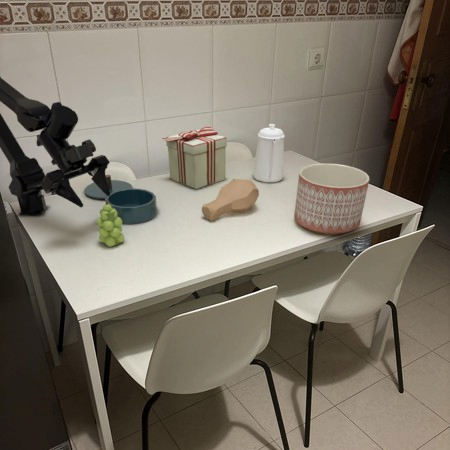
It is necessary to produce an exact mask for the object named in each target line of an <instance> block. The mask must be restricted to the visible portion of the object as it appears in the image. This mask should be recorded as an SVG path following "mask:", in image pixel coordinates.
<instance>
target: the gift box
mask: <svg viewBox="0 0 450 450" xmlns="http://www.w3.org/2000/svg"><path fill="white" fill-rule="evenodd" d="M227 139H228V138H227V137H226V136H223V135H220V134H218V131H216V130H215V129H214V128H213V127H211V126H204V127H202V128H200V129H193V130H187V131H182V132H180V133H177V134H173V135H169V136H166V137H162V140H164V141H166V142H165V143H166V144H165V145H166V147H167V152H168V167H169V168H168V169H169V179H170V180H172V181H175V182H177V183H179V184H182V185H184V186H187V187H189V188H191V189H194V190H198V189H200V188H201V189H202V188H204V187H207V186H210V185H213V184H216V183H219V182H222V181H224V180H225V181H226V147H228V140H227Z"/></svg>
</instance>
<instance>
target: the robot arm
mask: <svg viewBox="0 0 450 450" xmlns="http://www.w3.org/2000/svg"><path fill="white" fill-rule="evenodd" d="M0 103H2V104H3V105H4V106H6V108H8V109H9V110H11V111H12V112H13V113H14V114H15V115H16V120H17V122H18V123H19V124H20V126H22V128H24V129H25V131H26V132H29V133H33V132H37V131H40V132H39V134H37V135H36V146H37V147H43V148H44V150H45V151H46V152H47V153H48V155H49V156H50V158H51V159H52V160H51V162H50V163H51V164H52V166H57V167H58V168H57V169H55V170H51V171H49V172H47V173H46V174H45V171H44V169H43V168H42V167H41V165H40V163H39V162H38V159H37V158H35V157H29V156H27V155H26V153H25V152H24V150H23V148H22V147H21V145H20V144H19V142H18V140H17V138H16V137H15V134H14V133H13V131H12V130H11V129H10V127H9V125H8V124H7V122H6V120H5V118H4V117H3V115H2V113H1V112H0V150H1V152H2V153H3V155H4V156H5V158H6V160H7V161H8V163H9V176H10V178H11V182H10V183H9V185H8V190H9V192H10V194H11V195H13V196H15V197H16V198H17V202H18V206H19V210H20V211H19V213H18V215H19V216H41V215H43V213H44V212H45V210H46V209H47V208H48V206H47V203H46V199H45V195H44V194H43V193H42V191H44V193H45V194H51V195H52V196H53V195H57V196H58V197H61V198H63V199H65V200H67V201H69V202H70V203H72V204H74V205H75V206H78V208H83V207H84V202H82V200H81V199H80V197H79V196H78V194H77V193H76V191H75V190H74V189H73V187H72V186H71V182H70V180H71V179H74V178H77V177H80V176H83V175H85V174H88V175H89V176H90V177H91V178H90V179H91V181H92V183H95V184H96V185H97V186H98V187H99V188H100V189H101V190H102V191H103V192H104V193H105V194H106V195H107V196H109V195H110V191H109V187H108V184H107V180H106V176H105V175H106V170H107V169H108V166H109V164H110V160H109V159H108V157H107V156H106V155H104V154H100V155H97V156H94V152H96V151H97V147H96V146H95V143H94V142H93V141H92V140H91V139H90V138H89V139H86V140H83V141H82V142H81V144H80V145H78V146H76V145H75V144H70V143H69V142H68V140H67V139H69V138H70V136H71V134H72V133H73V131H74V129H75V128H76V126H77V125H78V122H79V116H78V114H77V113H76V111H75V110H73V109H72V108H70V107H68V106H66V105H64V104H62V103H61V102H60V101H57V102H52V104H51V105H50V106H51V107H49V106H48V105H47V104H45V103H43V102H41V101H39V100H37V99H32V98H29V97H27V96H25V95H24V94H22V93H21V92H20V91H19V90H17V89H16V88H15V87H13V86H12V85H11V84H10V83H8V82H7V81H6V80H4V79H3V78H2V77H1V76H0ZM90 157H92V158H91V159H90V160H89V162H88V158H90ZM87 162H88V164H86V163H87Z"/></svg>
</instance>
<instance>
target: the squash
mask: <svg viewBox="0 0 450 450" xmlns="http://www.w3.org/2000/svg"><path fill="white" fill-rule="evenodd" d="M259 196H260V190H259V188H258V187H257V185H256V184H255V183H254V181H253V180H251V179H243V178H242V179H241V178H240V179H238V178H237V179H236V178H233V179H231V180H230V181H229V182H228V183H226V184H224V185H223V186H221V187H220V189H219V191H218V195H217V196H216V198H215V199H213V200H212V201H210V202H208V203H204V204H203V205H202V207H201V212H202V214H203V216H204V217H205V218H206V219H207V220H209V221H210V222H211V221H215V220H216V219H217V220H218V218H219V217H221V216H223V215H225V214H230V213H232V214H244V213H246V212H248V211H250V210H251V209H252V207H253V206H254V205H255V204H256V202H257V201H258V198H259Z"/></svg>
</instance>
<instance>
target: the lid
mask: <svg viewBox="0 0 450 450" xmlns="http://www.w3.org/2000/svg"><path fill="white" fill-rule="evenodd" d="M105 176H106V180H107V184H108V187H109V191H110V194H111V193H112V192H115V191H118V190H123V189H134V188H133V185H132V184H131V183H130V182H127V181H125V180H119V179H112V176H111V174H105ZM84 194H85V195H86V196H88V197H90V198H93V199H97V200H105V199H106V197H107V195H106V194H105V193H104V192H103V191H102V190H101V189H100V188H99V187H98V186H97V185H96V184H95V183H94V182H92V183H90V184H87V185H86V186H85V187H84Z"/></svg>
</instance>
